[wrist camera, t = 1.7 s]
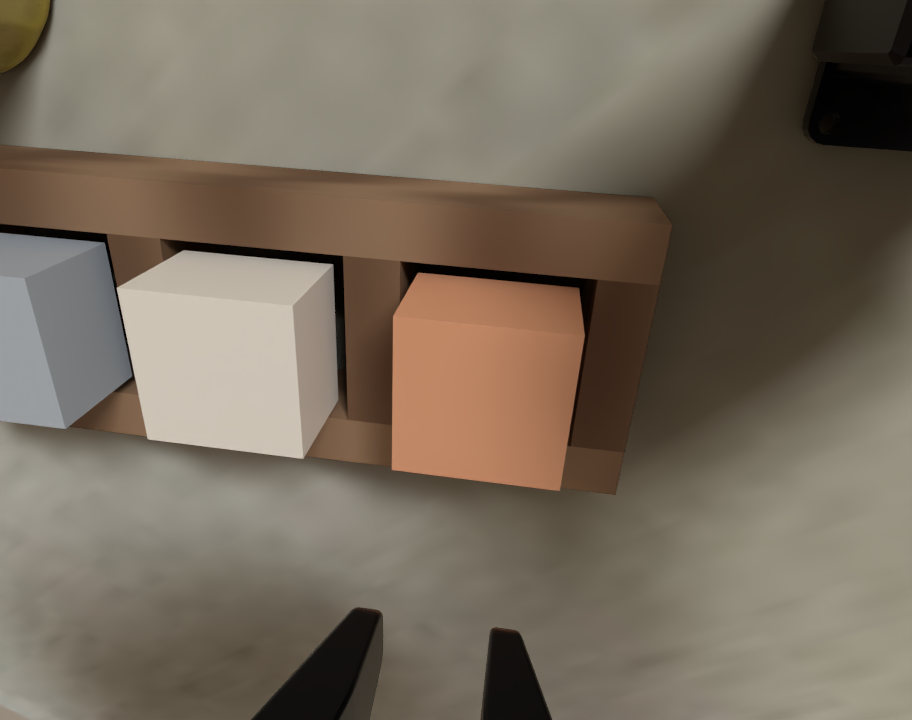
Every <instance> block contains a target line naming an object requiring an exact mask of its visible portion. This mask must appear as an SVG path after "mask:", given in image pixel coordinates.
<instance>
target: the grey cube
mask: <svg viewBox="0 0 912 720" xmlns="http://www.w3.org/2000/svg"><path fill="white" fill-rule="evenodd" d="M131 377H132V372H131V367H130V362H129V357H128V352H127V348H126V343H125V338H124V333H123V328H122V323H121V319H120V314H119V309H118V304H117V299H116V294H115V290H114V285H113V280H112V275H111V270H110V265H109V260H108V256H107V251H106V246H105V243H103V242H92V241H82V240H71V239H60V238H50V237H39V236H29V235H18V234H8V233H0V421H5V422H13V423H21V424H29V425H37V426H45V427H53V428H61V429H66V428H68V427H69V426H70V425H71V424H73V423H74V422H75V421H76V420H78V419H79V418H80V417H81V416H83V415H84V414H85V413H86V412H88V411H89V410H90V409H92V408H93V407H94V406H95V405H97V404H98V403H99V402H100V401H102V400H103V399H104V398H105V397H107V396H108V395H109V394H110V393H112V392H113V391H114V390H115V389H117V388H118V387H119V386H120V385H122V384H123V383H124V382H126V381H127V380H128V379H129V378H131Z"/></svg>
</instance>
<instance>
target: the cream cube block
mask: <svg viewBox="0 0 912 720" xmlns="http://www.w3.org/2000/svg"><path fill="white" fill-rule="evenodd" d="M117 292H118V297H119V301H120V306H121V311H122V316H123V321H124V326H125V331H126V336H127V340H128V345H129V350H130V355H131V360H132V365H133V370H134V375H135V380H136V384H137V389H138V394H139V399H140V404H141V409H142V414H143V419H144V424H145V428H146V433H147V438H148V439H149V440H157V441H165V442H173V443H181V444H189V445H197V446H205V447H213V448H221V449H229V450H237V451H245V452H253V453H261V454H269V455H277V456H285V457H293V458H300V459H304V457H305V455H306V454H307V452H308V450H309V448H310V447H311V445H312V443H313V442H314V440H315V438H316V437H317V435H318V433H319V432H320V430H321V428H322V427H323V425H324V423H325V422H326V420H327V418H328V416H329V415H330V413H331V411H332V410H333V408H334V406H335V405H336V403H337V401H338V377H337V350H336V324H335V297H334V270H333V264H323V263H313V262H302V261H292V260H281V259H271V258H260V257H250V256H239V255H229V254H218V253H208V252H197V251H187V250H183V251H182V252H180V253H178V254H176V255H174V256H173V257H171V258H169V259H167V260H166V261H164V262H162V263H160V264H158V265H157V266H155V267H153V268H151V269H149V270H148V271H146V272H144V273H142V274H141V275H139V276H137V277H135V278H133V279H132V280H130V281H128V282H126V283H125V284H123V285H121V286H119V287H117Z"/></svg>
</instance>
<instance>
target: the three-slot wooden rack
mask: <svg viewBox="0 0 912 720" xmlns="http://www.w3.org/2000/svg"><path fill="white" fill-rule="evenodd" d="M26 226H30V227H41V228H51V229H62V230H73V231H84V232H94V233H105V234H107V239H108V244H109V249H110V253H111V258H112V263H113V268H114V273H115V278H116V283H117V287H119V286H121V285H123V284H125V283H126V282H128V281H130V280H132V279H133V278H135V277H137V276H139V275H141V274H142V273H144V272H146V271H148V270H149V269H151V268H153V267H155V266H157V265H158V264H160V263H162V262H164V261H166V260H167V259H169V258H171V257H173V256H174V255H176V254H178V253H180V252H182V251H183V250H187V251H197V252H208V253H218V247H217V244H222V245H233V246H244V247H254V248H265V249H276V250H287V251H297V252H308V253H319V254H329V255H340V256H343V270H344V303H345V337H346V370H344V369H337V377H338V401H337V403H336V405H335V406H334V408H333V410H332V411H331V413H330V415H329V416H328V418H327V420H326V422H325V423H324V425H323V427H322V428H321V430H320V432H319V433H318V435H317V437H316V438H315V440H314V442H313V443H312V445H311V447H310V448H309V450H308V452H307V454H306V455H305V456H309V457H317V458H325V459H333V460H341V461H349V462H357V463H365V464H373V465H381V466H389V467H392V385H393V315H394V314H395V312H396V310H397V308H398V307H399V305H400V303H401V301H402V300H403V298H404V296H405V294H406V293H407V291H408V289H409V287H410V286H411V284H412V282H413V281H414V279H415V277H416V275H417V274H418V273H420V263H425V264H436V265H447V266H457V267H468V268H479V269H490V270H500V271H511V272H522V273H532V274H543V275H554V276H564V277H575V278H586V281H585V287H584V294H583V300H582V306H581V309H582V317H583V325H584V333H585V338H584V344H583V350H582V356H581V362H580V369H579V375H578V381H577V387H576V393H575V400H574V406H573V412H572V418H571V424H570V431H569V437H568V443H567V449H566V455H565V462H564V468H563V474H562V480H561V486H560V488H565V489H573V490H581V491H589V492H597V493H605V494H613V495H615V494H616V489H617V485H618V480H619V475H620V470H621V466H622V461H623V456H624V452H625V447H626V442H627V437H628V433H629V428H630V423H631V419H632V414H633V409H634V405H635V400H636V395H637V390H638V386H639V381H640V376H641V372H642V367H643V362H644V358H645V353H646V348H647V343H648V339H649V334H650V329H651V325H652V320H653V315H654V311H655V306H656V301H657V296H658V292H659V287H660V282H661V278H662V273H663V268H664V263H665V259H666V254H667V249H668V245H669V240H670V235H671V231H672V226H673V225H672V224H671V222H670V221H669V219H668V218H667V216H666V215H665V213H664V212H663V210H662V209H661V208H660V206H659V205H658V203H657V202H656V200H655V199H654V198H651V197H639V196H627V195H614V194H602V193H590V192H577V191H565V190H552V189H540V188H528V187H515V186H503V185H491V184H478V183H466V182H454V181H441V180H429V179H416V178H404V177H392V176H379V175H367V174H355V173H342V172H330V171H318V170H305V169H293V168H280V167H268V166H256V165H243V164H231V163H219V162H206V161H194V160H182V159H169V158H157V157H144V156H132V155H120V154H107V153H95V152H83V151H70V150H58V149H46V148H33V147H21V146H8V145H0V233H8V234H18V235H28V232H27V228H26ZM126 348H127V352H128V357H129V362H130V367H131V372H132V377H131V378H129V379H128V380H127V381H126V382H124V383H123V384H122V385H120V386H119V387H118V388H117V389H115V390H114V391H113V392H112V393H110V394H109V395H108V396H107V397H105V398H104V399H103V400H102V401H100V402H99V403H98V404H97V405H95V406H94V407H93V408H92V409H90V410H89V411H88V412H86V413H85V414H84V415H83V416H81V417H80V418H79V419H78V420H76V421H75V422H74V423H73V424H71V425H70V426H69V427H76V428H84V429H92V430H100V431H108V432H116V433H124V434H132V435H140V436H147V433H146V428H145V424H144V419H143V414H142V409H141V404H140V399H139V394H138V389H137V384H136V380H135V375H134V370H133V365H132V360H131V355H130V350H129V346H128V345H126Z"/></svg>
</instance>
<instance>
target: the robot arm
mask: <svg viewBox="0 0 912 720" xmlns="http://www.w3.org/2000/svg"><path fill="white" fill-rule="evenodd" d="M812 51H813V53H814V55H815V56H816V58H817V60H818V61H819V62H820V63H819V67H818V70H817V74H816V77H815V81H814V84H813V88H812V91H811V95H810V98H809V102H808V105H807V109H806V112H805V116H804V119H803V127H802V129H803V132H804V135H805V136H806V137H807V138H808V139H809V140H810V141H813V142H815V143H819V144H822V145H832V146H846V147H860V148H874V149H888V150H902V151H912V0H826V1H825V5H824V8H823V12H822V16H821V19H820V23H819V26H818V30H817V33H816V37H815V41H814V44H813V48H812ZM828 113H832V114H833V115H834V117H835V122H834V124H833V126H832V128H831V129H829V130H828V131H827V132H822V133H821V131H820V130H819V122H820V120H821V119H822V117H823V116H825V115H826V114H828ZM382 655H383V616H382V613H381V612H380V611H378V610H374V609H367V608H360V607H358V608H354V609H353V610H351V611H350V612H349V613H348V614H347V616H346V617H345V618H344V619H343V620H342V621H341V622H340V623H339V624H338V625H337V626H336V628H335V629H334V630H333V631H332V632H331V633H330V634H329V635H328V636H327V637H326V638H325V640H324V641H323V642H322V643H321V644H320V645H319V646H318V647H317V648H316V649H315V650H314V652H313V653H312V654H311V655H310V656H309V657H308V658H307V659H306V660H305V661H304V662H303V664H302V665H301V666H300V667H299V668H298V669H297V670H296V671H295V672H294V673H293V674H292V676H291V677H290V678H289V679H288V680H287V681H286V682H285V683H284V684H283V685H282V687H281V688H280V689H279V690H278V691H277V692H276V693H275V694H274V695H273V696H272V697H271V699H270V700H269V701H268V702H267V703H266V704H265V705H264V706H263V707H262V708H261V709H260V711H259V712H258V713H257V714H256V715H255V716H254V717H253V718H252V719H251V720H370V715H371V710H372V706H373V701H374V696H375V691H376V687H377V682H378V677H379V672H380V668H381V662H382ZM481 720H552V717H551V715H550V712H549V709H548V707H547V704H546V701H545V698H544V696H543V693H542V690H541V688H540V685H539V682H538V679H537V677H536V674H535V671H534V669H533V666H532V663H531V660H530V658H529V655H528V652H527V650H526V647H525V644H524V641H523V639H522V636H521V635H520V633H519V632H518V631H516V630H511V629H504V628H497V627H495V628H492V629H491V631H490V635H489V644H488V653H487V662H486V672H485V681H484V691H483V701H482V710H481Z"/></svg>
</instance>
